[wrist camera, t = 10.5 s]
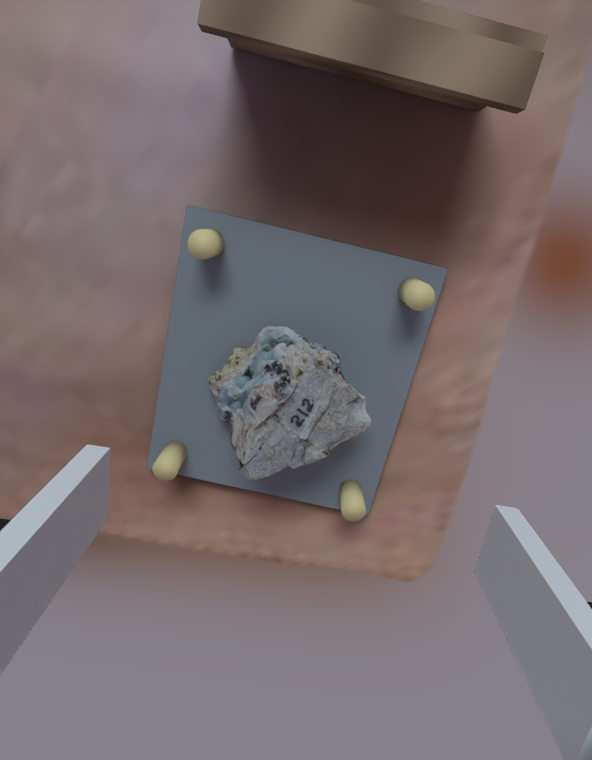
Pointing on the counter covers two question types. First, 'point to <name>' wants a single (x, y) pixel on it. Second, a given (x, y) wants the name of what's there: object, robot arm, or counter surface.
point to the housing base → (306, 318)
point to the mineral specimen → (285, 402)
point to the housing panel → (389, 46)
